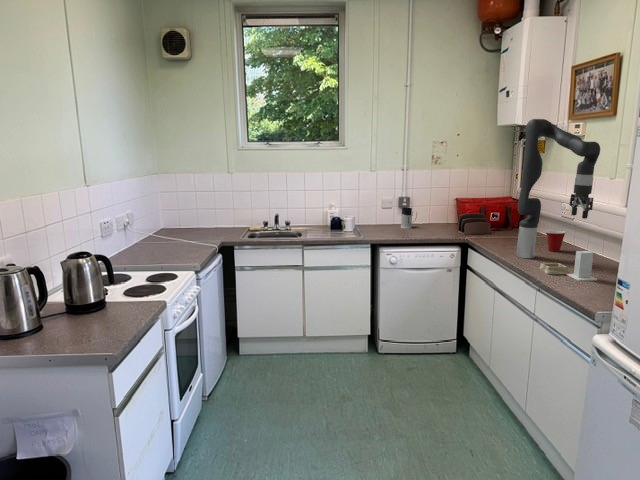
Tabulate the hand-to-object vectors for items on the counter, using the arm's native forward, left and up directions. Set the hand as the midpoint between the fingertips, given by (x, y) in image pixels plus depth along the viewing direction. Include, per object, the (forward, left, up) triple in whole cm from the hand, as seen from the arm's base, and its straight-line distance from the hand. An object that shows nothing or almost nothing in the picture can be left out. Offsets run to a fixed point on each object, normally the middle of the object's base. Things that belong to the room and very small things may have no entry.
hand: (579, 216), depth 217 cm
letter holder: (-99, -11, -28) cm, 104 cm away
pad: (+13, -4, -27) cm, 30 cm away
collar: (+3, -12, -27) cm, 30 cm away
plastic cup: (-41, +14, -27) cm, 52 cm away
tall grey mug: (-123, -53, -27) cm, 137 cm away
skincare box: (+13, -4, -27) cm, 30 cm away
